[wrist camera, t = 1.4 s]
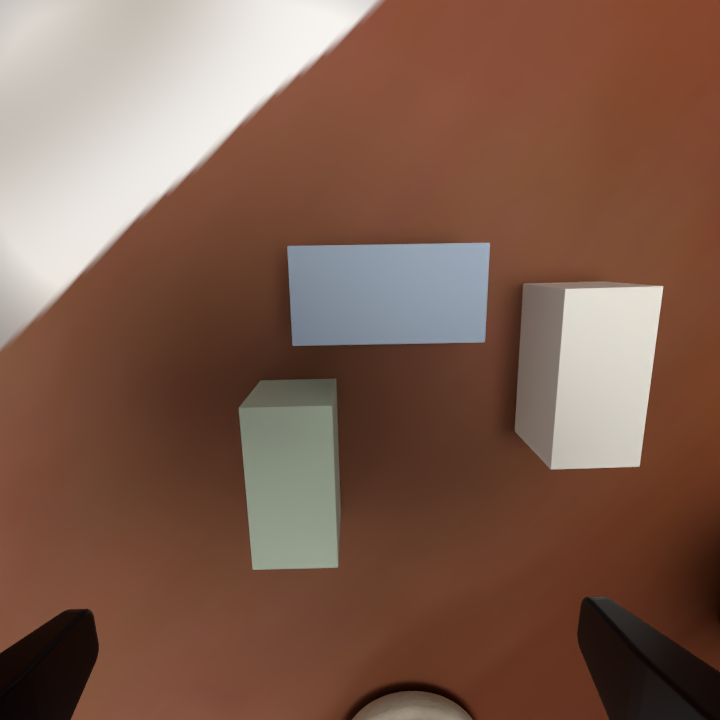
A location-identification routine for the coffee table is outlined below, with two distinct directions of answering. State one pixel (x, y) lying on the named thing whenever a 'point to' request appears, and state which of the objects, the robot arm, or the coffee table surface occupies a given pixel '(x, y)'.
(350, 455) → the coffee table surface
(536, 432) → the cream brick
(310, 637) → the coffee table surface
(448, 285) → the slate brick
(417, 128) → the coffee table surface
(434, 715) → the stacking toy
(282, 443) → the sage brick
